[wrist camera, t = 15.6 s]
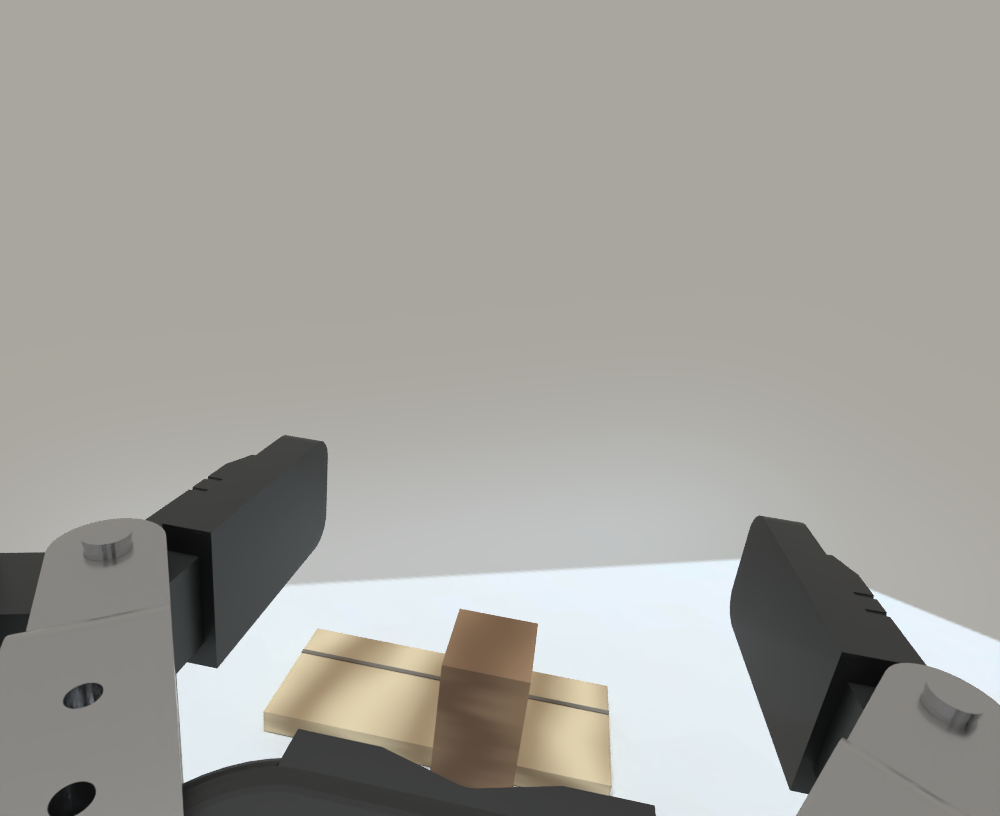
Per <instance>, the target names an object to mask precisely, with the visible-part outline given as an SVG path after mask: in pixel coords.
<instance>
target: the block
mask: <svg viewBox="0 0 1000 816" xmlns="http://www.w3.org/2000/svg"><path fill="white" fill-rule="evenodd" d="M537 627H538V624H537V623H532V622H526V621H521V620H516V619H511V618H505V617H500V616H495V615H490V614H484V613H479V612H474V611H469V610H463V609H460V610H459V613H458V616H457V619H456V622H455V625H454V628H453V632H452V635H451V638H450V641H449V644H448V647H447V650H446V653H445V656H444V659H443V663H442V667H441V676H440V686H439V695H438V704H437V713H436V723H435V732H434V741H433V751H432V760H431V769H430V771H432V772H434V773H436V774H438V775H440V776H442V777H444V778H446V779H448V780H450V781H452V782H454V783H456V784H459V785H461V786H464V787H468V788H504V787H513V785H514V779H515V773H516V767H517V761H518V755H519V749H520V743H521V738H522V732H523V726H524V720H525V714H526V708H527V702H528V696H529V690H530V685H531V677H532V669H533V660H534V652H535V644H536V635H537Z"/></svg>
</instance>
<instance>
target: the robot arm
mask: <svg viewBox="0 0 1000 816" xmlns="http://www.w3.org/2000/svg"><path fill="white" fill-rule="evenodd" d="M327 461H328V453H327V447H326V445H325V443H324V442H322V441H317V440H311V439H305V438H299V437H293V436H287V435H285V436H282V437H280V438H279V439H278V440H276V441H275V442H273V443H272V444H271V445H269V446H268V447H267V448H265V449H264V450H263V451H261V452H260V453H258V454H257V455H250V456H247V457H245V458H242V459H239V460H236V461H233V462H230V463H227V464H225V465H224V466H223V467H221V468H220V469H218V470H217V471H215V472H214V473H212V474H211V475H210V476H208V479H204V480H202V481H201V482H199V483H198V484H196V485H195V486H194V487H193V489H192V490H188V491H186V492H185V493H184V494H182V495H181V496H179V497H178V498H176V499H175V500H173V501H172V502H171V503H169V504H168V505H166V506H165V507H163V508H162V509H160V510H159V511H157V512H156V513H155V514H153V515H152V516H150V517H149V518H147V519H146V520H142V519H132V518H123V519H110V520H104V521H99V522H94V523H91V524H87V525H84V526H81V527H78V528H76V529H73V530H71V531H69V532H67V533H65V534H64V535H62V536H60V537H59V538H57V539H56V540H55V541H53V542H52V543H51V544H50V546H49V547H48V548H47V550H46V552H45V553H0V816H656V814H655V806H654V805H650V804H645V803H640V802H636V801H631V800H626V799H622V798H617V797H612V796H608V795H603V794H599V793H594V792H589V791H585V790H580V789H575V788H571V787H566V786H540V787H504V788H468V787H464V786H461V785H459V784H456V783H454V782H452V781H450V780H448V779H446V778H444V777H442V776H440V775H438V774H436V773H434V772H432V771H430V770H428V769H426V768H424V767H422V766H420V765H418V764H416V763H414V762H412V761H410V760H408V759H406V758H404V757H402V756H400V755H398V754H396V753H394V752H392V751H390V750H388V749H386V748H384V747H381V746H376V745H372V744H367V743H362V742H358V741H353V740H348V739H344V738H339V737H335V736H330V735H325V734H321V733H316V732H311V731H307V730H302V729H298V730H297V732H296V733H295V735H294V737H293V739H292V741H291V742H290V744H289V746H288V748H287V750H286V751H285V753H284V755H283V757H282V758H276V759H264V760H257V761H250V762H245V763H241V764H237V765H233V766H228V767H225V768H222V769H219V770H216V771H213V772H210V773H207V774H204V775H201V776H199V777H197V778H195V779H193V780H190V781H188V782H186V783H184V782H183V767H182V752H181V737H180V722H179V707H178V693H177V678H176V674H177V673H178V671H179V670H180V669H181V668H182V667H183V666H184V665H185V664H186V662H189V663H194V664H199V665H203V666H208V667H213V668H218V667H219V665H220V664H221V663H222V662H223V661H224V659H225V658H226V657H227V656H228V654H229V653H230V652H231V651H232V650H233V648H234V647H235V646H236V645H237V643H238V642H239V641H240V640H241V638H242V637H243V636H244V635H245V634H246V632H247V631H248V630H249V629H250V627H251V626H252V625H253V624H254V623H255V621H256V620H257V619H258V618H259V616H260V615H261V614H262V613H263V611H264V610H265V609H266V608H267V607H268V605H269V604H270V603H271V602H272V600H273V599H274V598H275V597H276V596H277V594H278V593H279V592H280V591H281V589H282V588H283V587H284V586H285V584H286V583H287V582H288V581H289V580H290V578H291V577H292V576H293V575H294V573H295V572H296V571H297V570H298V569H299V567H300V566H301V565H302V564H303V562H304V561H305V560H306V559H307V558H308V556H309V555H310V554H311V553H312V551H313V550H314V549H315V548H316V546H317V545H318V543H319V541H320V539H321V536H322V533H323V530H324V526H325V520H326V501H327V464H328V463H327ZM873 596H874V595H873V594H872V592H871V591H870V590H869V589H868V587H867V586H866V585H865V583H864V582H863V581H862V580H861V578H860V577H859V575H858V574H856V573H855V572H853V571H852V570H851V569H849V568H848V567H847V566H845V565H844V564H843V563H842V562H841V561H839V560H838V559H836V558H835V557H834V556H832V555H826V553H825V552H824V551H823V549H822V548H821V546H820V545H819V543H818V542H817V541H816V539H815V538H814V536H813V535H812V533H811V532H810V531H809V529H808V528H807V526H806V525H805V524H803V523H800V522H794V521H788V520H782V519H776V518H770V517H764V516H758V517H756V518H755V519H754V521H753V522H752V524H751V527H750V530H749V533H748V537H747V540H746V544H745V547H744V551H743V554H742V557H741V561H740V564H739V568H738V571H737V575H736V578H735V582H734V585H733V589H732V593H731V600H730V618H731V624H732V627H733V630H734V633H735V636H736V639H737V642H738V644H739V647H740V650H741V653H742V656H743V659H744V661H745V664H746V667H747V670H748V673H749V676H750V678H751V681H752V684H753V687H754V690H755V693H756V695H757V698H758V701H759V704H760V707H761V710H762V712H763V715H764V718H765V721H766V724H767V727H768V729H769V732H770V735H771V738H772V741H773V744H774V746H775V749H776V752H777V755H778V758H779V761H780V763H781V766H782V769H783V772H784V775H785V778H786V780H787V783H788V786H789V789H790V790H791V791H796V792H800V793H805V794H808V796H807V798H806V800H805V801H804V803H803V805H802V807H801V808H800V810H799V812H798V814H797V815H796V816H1000V705H999V704H998V703H997V702H995V701H994V700H993V699H992V698H990V697H989V696H988V695H986V694H985V693H984V692H982V691H981V690H979V689H977V688H976V687H974V686H973V685H971V684H969V683H967V682H965V681H964V680H962V679H960V678H958V677H956V676H953V675H951V674H949V673H947V672H944V671H941V670H939V669H936V668H932V667H929V666H927V665H926V664H925V663H924V662H923V660H922V659H921V658H920V656H919V655H918V654H917V652H916V651H915V650H914V648H913V647H912V646H911V644H910V643H909V642H908V640H907V639H906V638H905V636H904V635H903V634H902V632H901V631H900V630H899V628H898V627H897V626H896V624H895V623H894V622H893V620H892V619H891V618H890V617H887V616H886V613H887V612H886V611H885V610H884V608H883V607H882V606H881V604H880V603H879V602H878V600H877V599H873Z"/></svg>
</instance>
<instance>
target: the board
mask: <svg viewBox="0 0 1000 816" xmlns="http://www.w3.org/2000/svg"><path fill="white" fill-rule="evenodd" d="M444 656H445V654H443V653H438V652H433V651H428V650H423V649H418V648H413V647H408V646H403V645H398V644H392V643H387V642H382V641H377V640H372V639H367V638H362V637H357V636H352V635H347V634H342V633H337V632H332V631H327V630H322V629H317V630H316V632H315V633H314V635H313V636H312V638H311V639H310V641H309V643H308V644H307V646H306V647H305V649H303V651H302V653H301V655H300V656H299V658H298V659H297V661H296V662H295V664H294V666H293V667H292V669H291V670H290V672H289V673H288V675H287V676H286V678H285V679H284V681H283V682H282V684H281V686H280V687H279V689H278V690H277V692H276V693H275V695H274V696H273V698H272V699H271V701H270V702H269V704H268V706H267V707H266V709H265V710H264V731H267V732H272V733H276V734H281V735H285V736H290V737H294V735H295V733H296V732H297V730H298V729H302V730H307V731H311V732H316V733H321V734H325V735H330V736H335V737H339V738H344V739H348V740H353V741H358V742H362V743H367V744H372V745H376V746H381V747H384V748H386V749H388V750H390V751H392V752H394V753H396V754H398V755H400V756H402V757H404V758H406V759H408V760H410V761H412V762H414V763H416V764H419V765H423V766H428V767H431V760H432V751H433V741H434V732H435V723H436V713H437V704H438V695H439V686H440V676H441V667H442V663H443V659H444ZM514 785H515V786H520V787H540V786H566V787H571V788H575V789H580V790H585V791H589V792H594V793H599V794H603V795H608V796H609V795H610V791H611V787H612V783H611V760H610V737H609V711H608V690H607V686H604V685H599V684H594V683H589V682H584V681H579V680H574V679H569V678H564V677H559V676H553V675H548V674H543V673H538V672H533V671H532V677H531V685H530V690H529V696H528V702H527V708H526V714H525V720H524V726H523V732H522V738H521V743H520V749H519V755H518V761H517V767H516V773H515V779H514Z"/></svg>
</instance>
